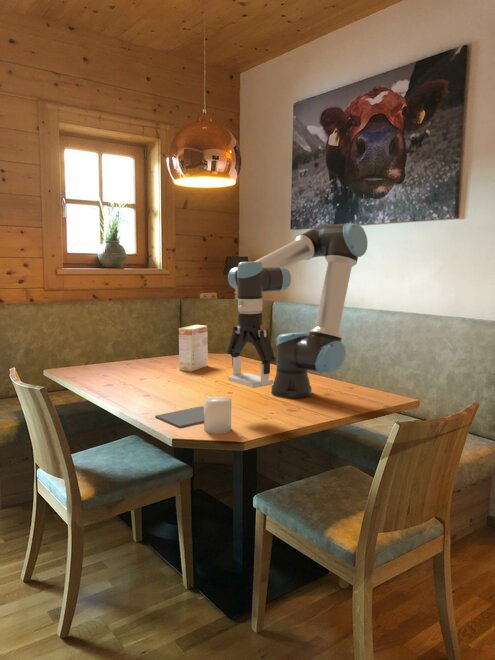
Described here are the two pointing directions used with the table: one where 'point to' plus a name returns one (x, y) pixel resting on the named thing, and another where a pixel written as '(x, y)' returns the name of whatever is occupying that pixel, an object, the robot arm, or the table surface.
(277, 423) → the table surface
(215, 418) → the cream rounded cylinder
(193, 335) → the coffeecake box
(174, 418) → the mat
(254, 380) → the hard drive
